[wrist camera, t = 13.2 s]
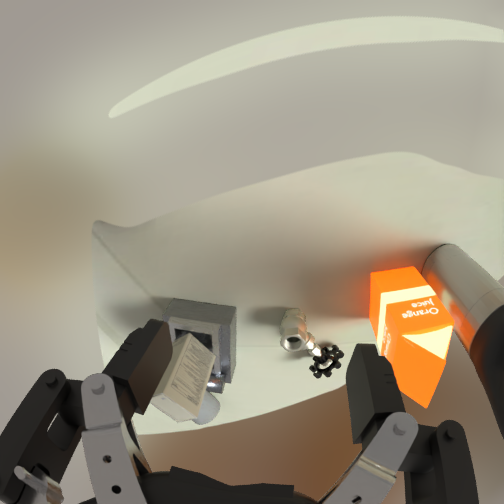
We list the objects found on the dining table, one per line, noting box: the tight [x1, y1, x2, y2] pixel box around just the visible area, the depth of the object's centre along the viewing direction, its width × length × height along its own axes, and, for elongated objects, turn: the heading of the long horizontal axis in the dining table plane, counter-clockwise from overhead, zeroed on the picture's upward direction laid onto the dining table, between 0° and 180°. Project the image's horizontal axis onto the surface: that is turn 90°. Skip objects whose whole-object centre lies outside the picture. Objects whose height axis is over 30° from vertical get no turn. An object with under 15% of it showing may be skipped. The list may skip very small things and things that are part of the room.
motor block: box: [163, 298, 236, 394], centre depth 44 cm, size 11×14×9 cm
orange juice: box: [369, 267, 455, 408], centre depth 31 cm, size 8×9×20 cm
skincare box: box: [150, 333, 216, 422], centre depth 35 cm, size 6×4×12 cm
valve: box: [280, 309, 344, 379], centre depth 42 cm, size 7×7×12 cm
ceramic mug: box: [193, 391, 220, 425], centre depth 52 cm, size 11×8×8 cm
